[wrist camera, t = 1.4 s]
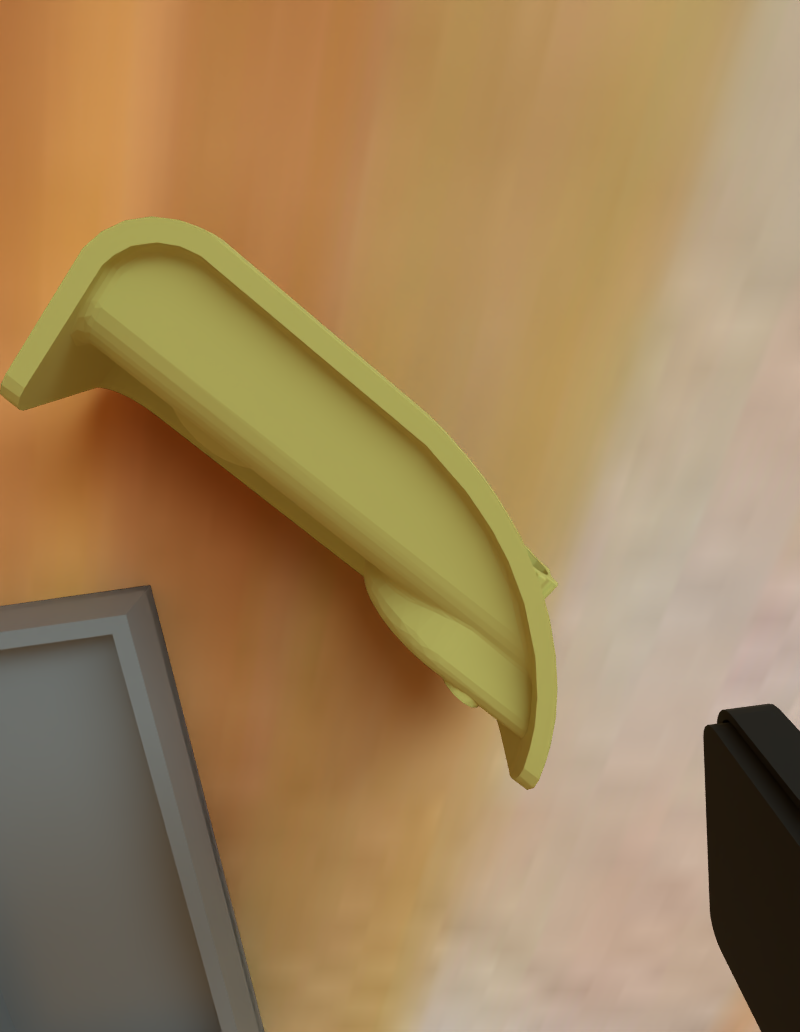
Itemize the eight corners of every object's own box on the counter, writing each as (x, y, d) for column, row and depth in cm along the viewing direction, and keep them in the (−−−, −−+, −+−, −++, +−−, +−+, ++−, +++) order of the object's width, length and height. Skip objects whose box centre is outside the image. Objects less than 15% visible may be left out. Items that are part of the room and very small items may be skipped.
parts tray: (-142, 626, 32) (-195, 659, 29) (150, 585, 31) (126, 614, 29) (23, 1064, 39) (-6, 1126, 36) (265, 1034, 38) (254, 1095, 35)
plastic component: (106, 370, 29) (-35, 408, 19) (222, 211, 28) (132, 167, 18) (493, 672, 33) (536, 828, 23) (614, 546, 31) (713, 659, 22)
